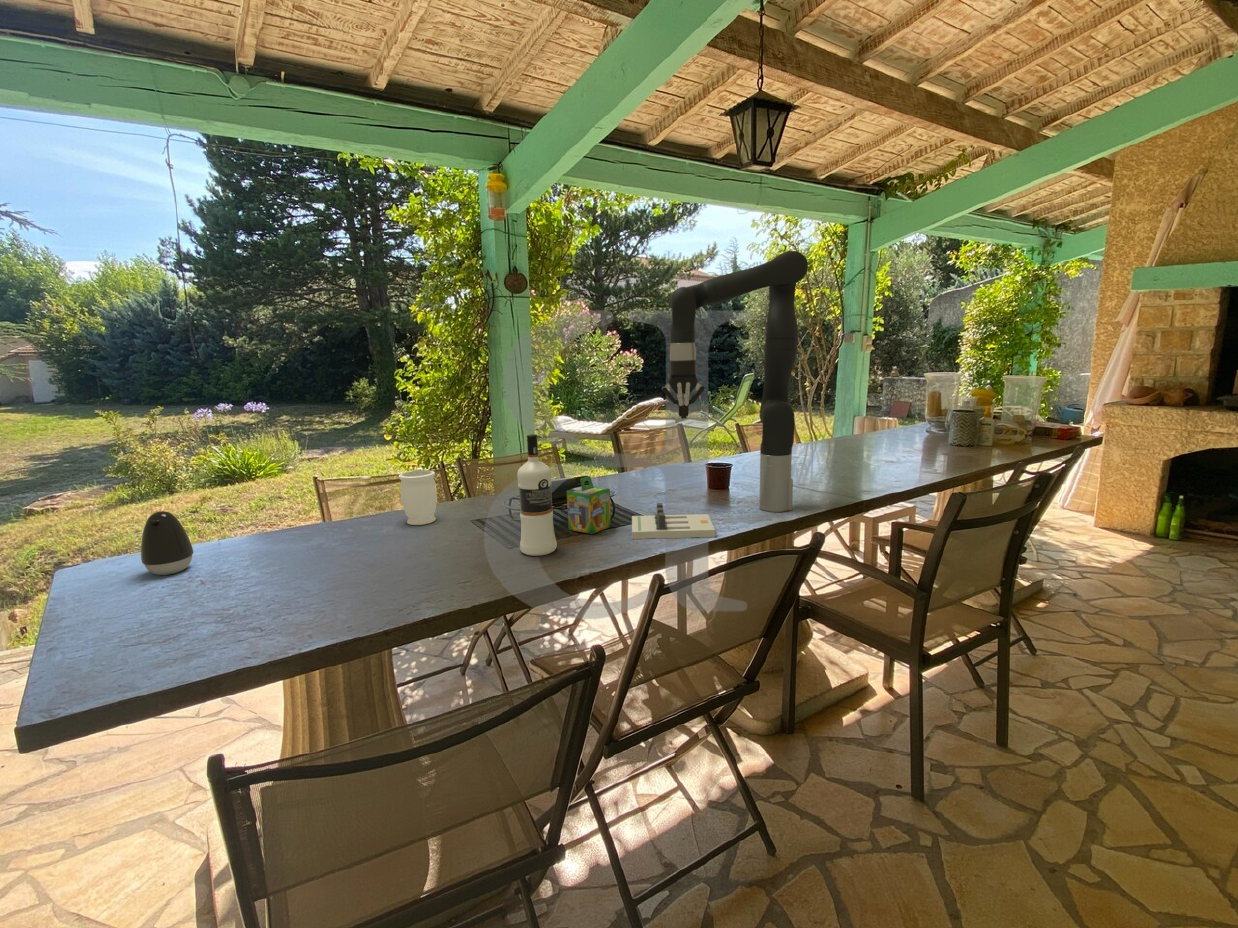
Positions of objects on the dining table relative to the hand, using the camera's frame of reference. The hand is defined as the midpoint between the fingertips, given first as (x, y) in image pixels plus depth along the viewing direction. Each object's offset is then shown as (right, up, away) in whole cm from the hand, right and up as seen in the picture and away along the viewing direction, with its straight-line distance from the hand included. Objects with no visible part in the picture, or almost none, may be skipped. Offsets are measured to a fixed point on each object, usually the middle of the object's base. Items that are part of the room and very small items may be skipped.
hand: (683, 418), depth 180 cm
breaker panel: (-4, -32, -11) cm, 34 cm away
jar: (-79, -31, +5) cm, 85 cm away
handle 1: (-7, -29, -6) cm, 30 cm away
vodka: (-40, -36, -25) cm, 59 cm away
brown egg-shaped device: (-129, -40, -32) cm, 138 cm away
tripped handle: (-8, -30, -11) cm, 33 cm away
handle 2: (-8, -31, -16) cm, 35 cm away
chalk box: (-27, -32, -7) cm, 43 cm away
